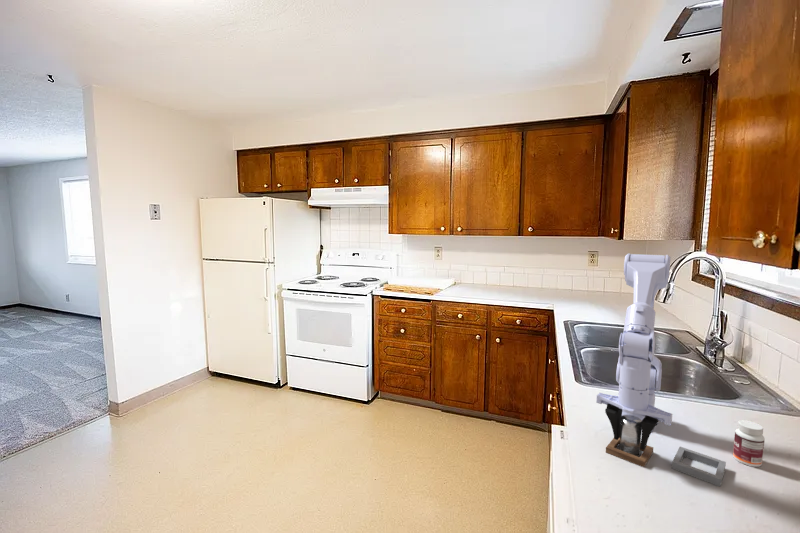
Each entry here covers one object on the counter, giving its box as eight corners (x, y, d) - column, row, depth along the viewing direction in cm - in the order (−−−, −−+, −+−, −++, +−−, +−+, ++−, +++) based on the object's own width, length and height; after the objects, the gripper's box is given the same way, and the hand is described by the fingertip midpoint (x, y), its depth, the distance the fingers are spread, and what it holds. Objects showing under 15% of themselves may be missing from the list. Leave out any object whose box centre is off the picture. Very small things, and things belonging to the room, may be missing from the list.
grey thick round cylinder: (622, 445, 89) (624, 413, 89) (641, 452, 87) (644, 419, 86) (616, 452, 87) (618, 419, 86) (636, 460, 84) (639, 425, 83)
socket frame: (616, 439, 92) (616, 434, 92) (653, 452, 87) (653, 447, 86) (605, 452, 87) (605, 447, 87) (644, 467, 81) (644, 462, 81)
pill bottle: (732, 451, 87) (735, 416, 86) (760, 459, 84) (764, 423, 83) (732, 461, 83) (736, 425, 82) (762, 470, 80) (766, 432, 79)
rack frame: (679, 452, 87) (679, 446, 86) (725, 468, 81) (725, 461, 81) (671, 468, 81) (672, 461, 81) (720, 486, 75) (721, 479, 75)
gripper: (593, 380, 87) (589, 436, 89) (669, 401, 77) (664, 464, 78) (603, 372, 92) (600, 425, 94) (676, 391, 82) (671, 450, 83)
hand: (630, 442), depth 86 cm, fingers open, 5 cm apart
